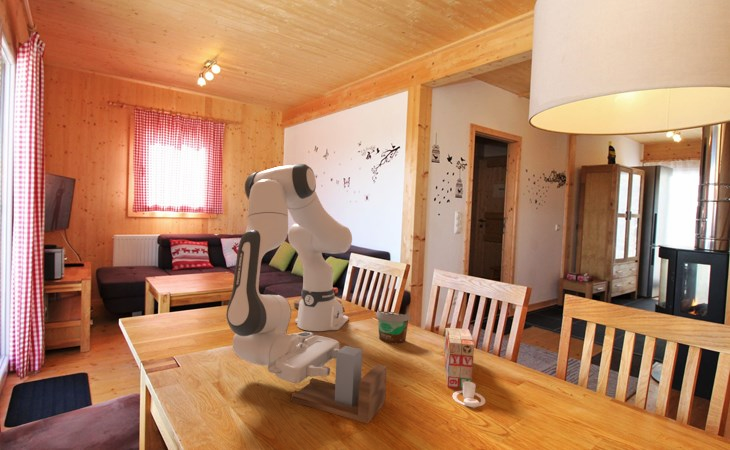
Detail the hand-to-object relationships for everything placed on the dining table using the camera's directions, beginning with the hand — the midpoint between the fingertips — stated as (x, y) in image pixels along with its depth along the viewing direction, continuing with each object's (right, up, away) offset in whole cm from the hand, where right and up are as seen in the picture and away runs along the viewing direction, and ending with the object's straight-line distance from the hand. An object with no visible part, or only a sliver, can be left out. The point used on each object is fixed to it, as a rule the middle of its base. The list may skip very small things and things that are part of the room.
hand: (338, 364), depth 94 cm
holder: (0, -9, 0) cm, 9 cm away
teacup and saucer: (+29, -11, +3) cm, 31 cm away
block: (+2, -8, -1) cm, 8 cm away
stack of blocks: (+33, -9, +20) cm, 39 cm away
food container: (+15, -7, +43) cm, 46 cm away
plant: (-14, -3, +81) cm, 82 cm away
